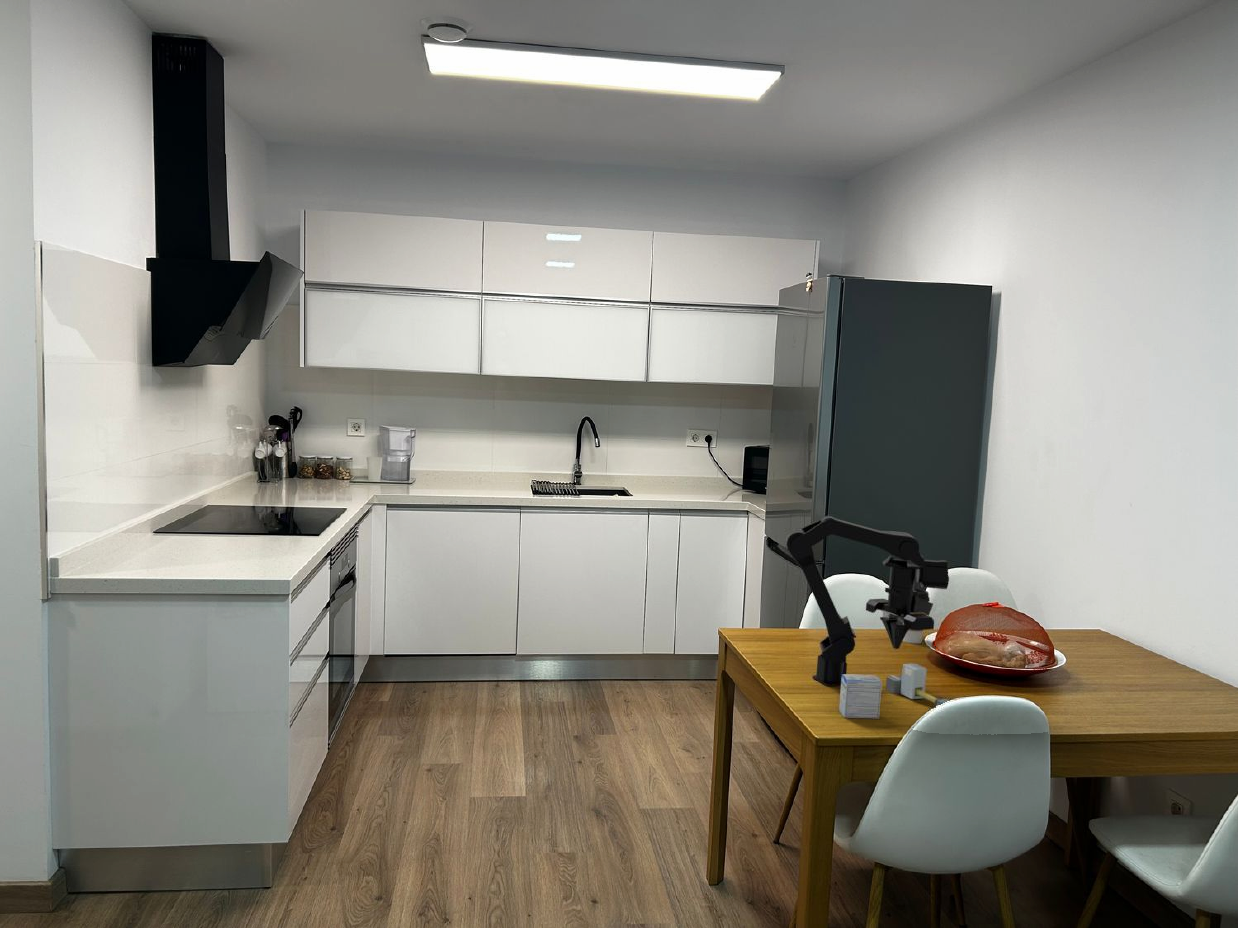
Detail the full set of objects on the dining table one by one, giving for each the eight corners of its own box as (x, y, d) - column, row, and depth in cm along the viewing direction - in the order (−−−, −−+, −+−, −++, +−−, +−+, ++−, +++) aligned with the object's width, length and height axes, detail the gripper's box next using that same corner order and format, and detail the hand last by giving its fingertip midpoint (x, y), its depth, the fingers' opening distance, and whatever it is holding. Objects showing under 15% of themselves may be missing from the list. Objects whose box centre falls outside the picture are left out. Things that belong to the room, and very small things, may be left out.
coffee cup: (892, 641, 265) (897, 590, 263) (898, 634, 272) (903, 584, 271) (923, 646, 261) (927, 594, 259) (928, 639, 268) (932, 589, 267)
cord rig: (940, 718, 205) (941, 703, 205) (885, 689, 222) (886, 675, 222) (961, 716, 207) (962, 700, 207) (905, 687, 225) (906, 673, 224)
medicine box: (873, 712, 207) (876, 674, 206) (879, 719, 203) (882, 681, 202) (838, 710, 207) (841, 673, 206) (843, 718, 202) (846, 679, 201)
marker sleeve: (911, 699, 216) (914, 669, 215) (900, 693, 219) (902, 664, 218) (924, 697, 217) (926, 668, 216) (912, 691, 221) (915, 663, 220)
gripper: (955, 593, 216) (949, 658, 218) (903, 575, 234) (898, 635, 235) (917, 595, 212) (911, 661, 214) (867, 577, 229) (861, 638, 231)
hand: (896, 648), depth 224 cm, fingers closed
